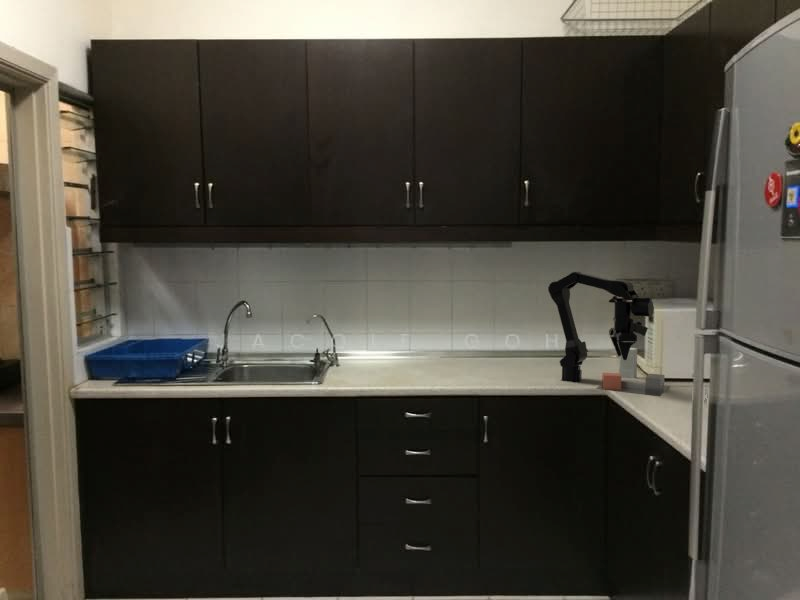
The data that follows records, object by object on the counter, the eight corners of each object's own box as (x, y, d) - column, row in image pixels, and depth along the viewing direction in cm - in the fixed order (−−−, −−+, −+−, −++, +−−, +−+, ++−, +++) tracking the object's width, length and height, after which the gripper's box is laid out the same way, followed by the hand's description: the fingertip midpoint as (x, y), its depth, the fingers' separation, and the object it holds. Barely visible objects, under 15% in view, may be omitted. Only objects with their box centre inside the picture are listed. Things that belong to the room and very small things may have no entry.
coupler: (595, 390, 231) (595, 375, 231) (609, 380, 248) (609, 366, 248) (659, 398, 220) (660, 382, 219) (669, 387, 237) (670, 372, 236)
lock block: (603, 388, 231) (603, 375, 230) (601, 385, 236) (602, 372, 236) (620, 389, 230) (621, 376, 229) (618, 386, 235) (619, 373, 234)
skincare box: (636, 378, 253) (637, 348, 252) (634, 379, 250) (635, 349, 249) (621, 376, 257) (622, 346, 256) (618, 378, 253) (619, 348, 252)
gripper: (652, 317, 221) (651, 362, 222) (639, 312, 239) (639, 354, 241) (619, 317, 222) (618, 362, 224) (608, 312, 241) (608, 353, 242)
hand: (622, 357), depth 232 cm, fingers open, 9 cm apart
